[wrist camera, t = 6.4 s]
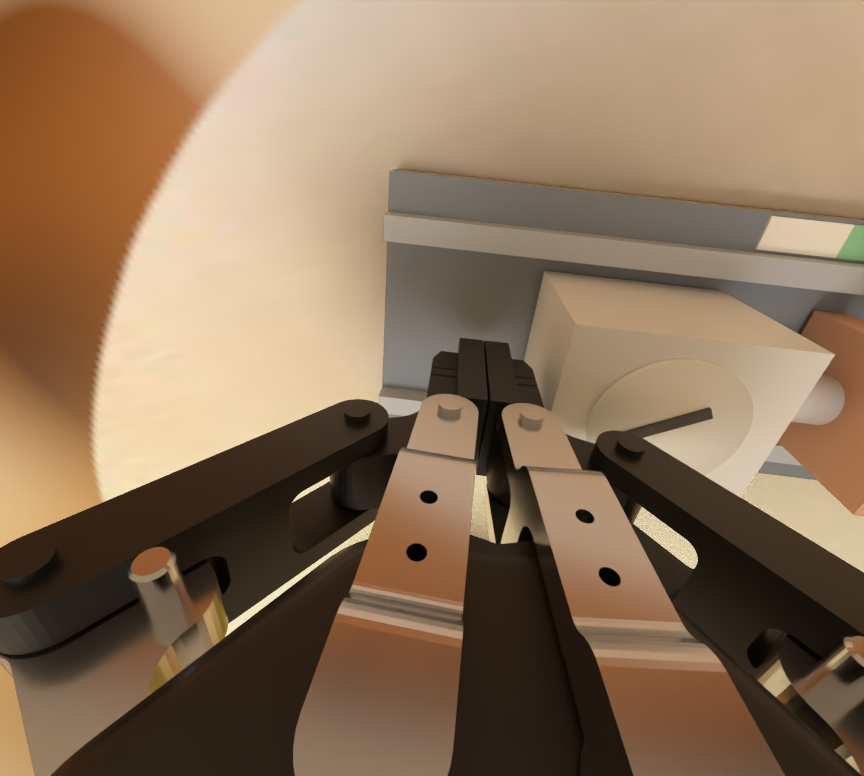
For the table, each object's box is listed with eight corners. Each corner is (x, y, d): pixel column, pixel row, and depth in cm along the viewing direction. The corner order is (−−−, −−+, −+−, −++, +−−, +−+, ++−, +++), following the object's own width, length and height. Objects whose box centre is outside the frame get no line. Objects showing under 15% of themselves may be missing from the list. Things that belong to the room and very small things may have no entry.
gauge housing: (812, 301, 14) (981, 376, 9) (741, 422, 16) (846, 528, 12) (544, 270, 14) (578, 328, 9) (515, 394, 16) (532, 488, 12)
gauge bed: (1046, 239, 14) (1906, 371, 5) (860, 465, 19) (1160, 710, 11) (397, 169, 14) (295, 193, 6) (387, 406, 19) (324, 593, 11)
